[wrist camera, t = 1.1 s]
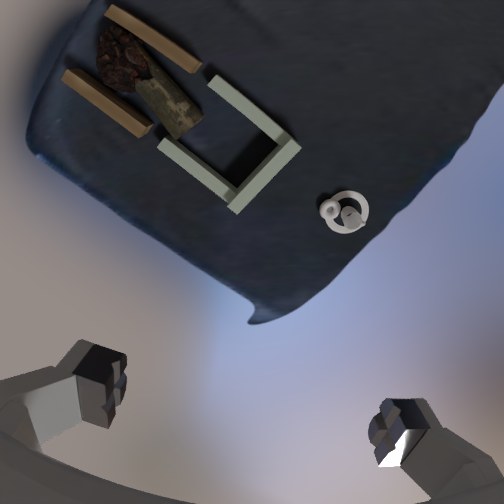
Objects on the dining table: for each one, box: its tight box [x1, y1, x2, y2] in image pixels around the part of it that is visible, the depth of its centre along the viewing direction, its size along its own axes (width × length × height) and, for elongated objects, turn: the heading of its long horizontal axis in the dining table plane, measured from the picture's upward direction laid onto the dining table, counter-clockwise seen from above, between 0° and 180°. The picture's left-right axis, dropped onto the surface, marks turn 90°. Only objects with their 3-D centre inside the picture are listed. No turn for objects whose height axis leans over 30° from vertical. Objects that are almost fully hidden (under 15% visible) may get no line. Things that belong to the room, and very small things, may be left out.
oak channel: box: [61, 4, 203, 138], centre depth 39 cm, size 14×17×4 cm
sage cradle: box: [157, 75, 301, 214], centre depth 45 cm, size 14×16×4 cm
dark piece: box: [96, 25, 205, 140], centre depth 39 cm, size 21×8×7 cm, turn 35°
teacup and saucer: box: [320, 191, 369, 233], centre depth 51 cm, size 9×8×4 cm
